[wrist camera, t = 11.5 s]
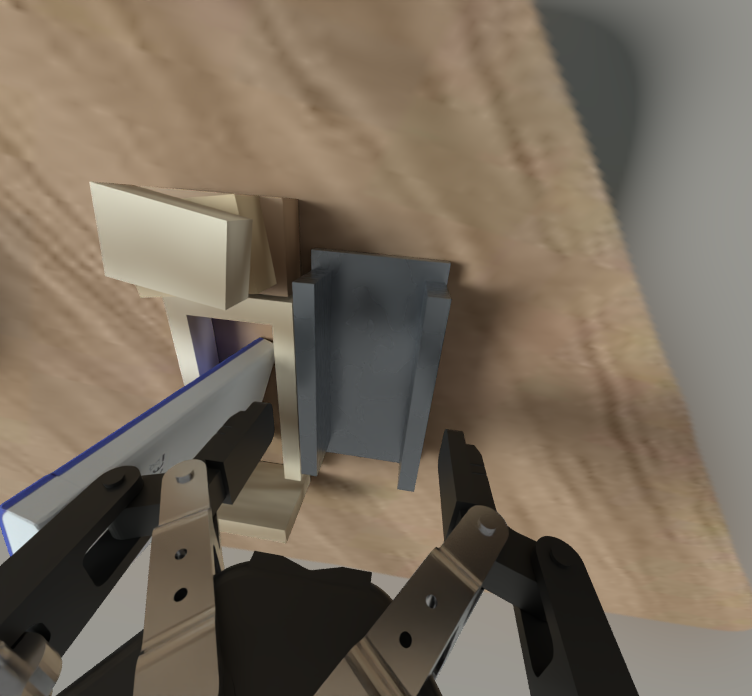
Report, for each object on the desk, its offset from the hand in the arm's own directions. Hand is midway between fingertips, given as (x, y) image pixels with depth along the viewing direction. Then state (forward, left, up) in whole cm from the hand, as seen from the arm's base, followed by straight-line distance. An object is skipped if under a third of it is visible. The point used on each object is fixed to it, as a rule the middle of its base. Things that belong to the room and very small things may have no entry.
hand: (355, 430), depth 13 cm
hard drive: (+3, -8, -6) cm, 10 cm away
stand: (0, 0, -6) cm, 6 cm away
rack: (+3, -8, -6) cm, 10 cm away
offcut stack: (-7, -8, -6) cm, 12 cm away
